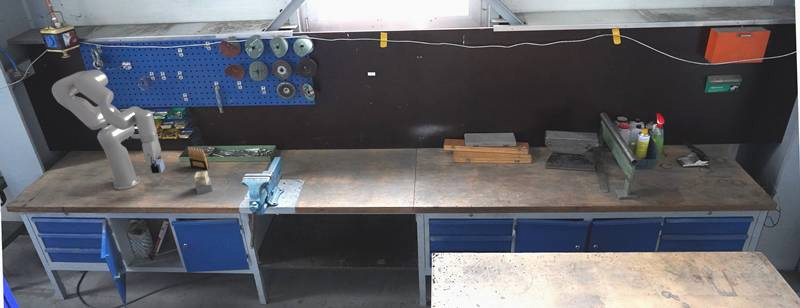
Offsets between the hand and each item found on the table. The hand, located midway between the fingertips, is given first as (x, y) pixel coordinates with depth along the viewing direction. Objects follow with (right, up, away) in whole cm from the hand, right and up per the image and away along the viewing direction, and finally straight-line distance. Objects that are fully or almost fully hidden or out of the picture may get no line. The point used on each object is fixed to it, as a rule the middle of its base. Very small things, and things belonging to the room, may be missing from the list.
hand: (157, 169), depth 265 cm
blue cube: (0, -1, 0) cm, 1 cm away
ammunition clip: (+12, 0, +23) cm, 26 cm away
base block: (+21, -10, +4) cm, 24 cm away
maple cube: (+21, -7, +2) cm, 22 cm away
